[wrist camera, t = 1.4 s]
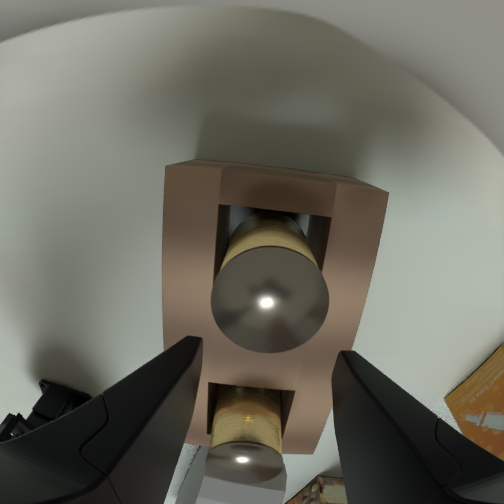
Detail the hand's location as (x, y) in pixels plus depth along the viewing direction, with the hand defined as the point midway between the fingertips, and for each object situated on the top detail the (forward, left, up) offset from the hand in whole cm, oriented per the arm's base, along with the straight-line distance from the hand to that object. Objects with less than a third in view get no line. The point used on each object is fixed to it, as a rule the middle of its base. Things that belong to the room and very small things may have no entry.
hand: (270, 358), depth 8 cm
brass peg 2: (-10, 0, -9) cm, 13 cm away
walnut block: (-5, 0, -13) cm, 14 cm away
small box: (-13, -24, -13) cm, 30 cm away
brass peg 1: (0, 0, -9) cm, 9 cm away
